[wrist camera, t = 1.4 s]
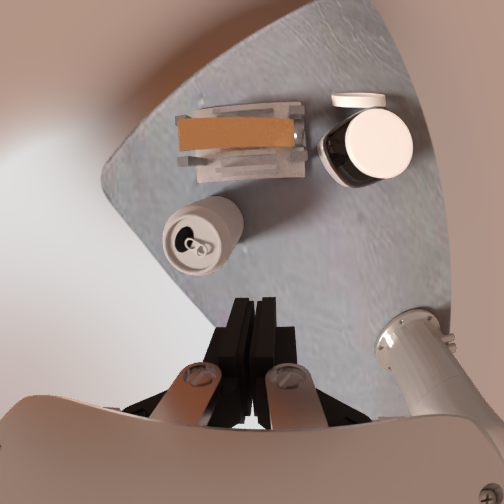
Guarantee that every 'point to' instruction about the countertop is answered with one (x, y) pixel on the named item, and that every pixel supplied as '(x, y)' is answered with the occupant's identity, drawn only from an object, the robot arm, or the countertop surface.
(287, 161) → the gray slatted rack
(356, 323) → the countertop surface
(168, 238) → the can
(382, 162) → the spread jar
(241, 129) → the orange brown bar
